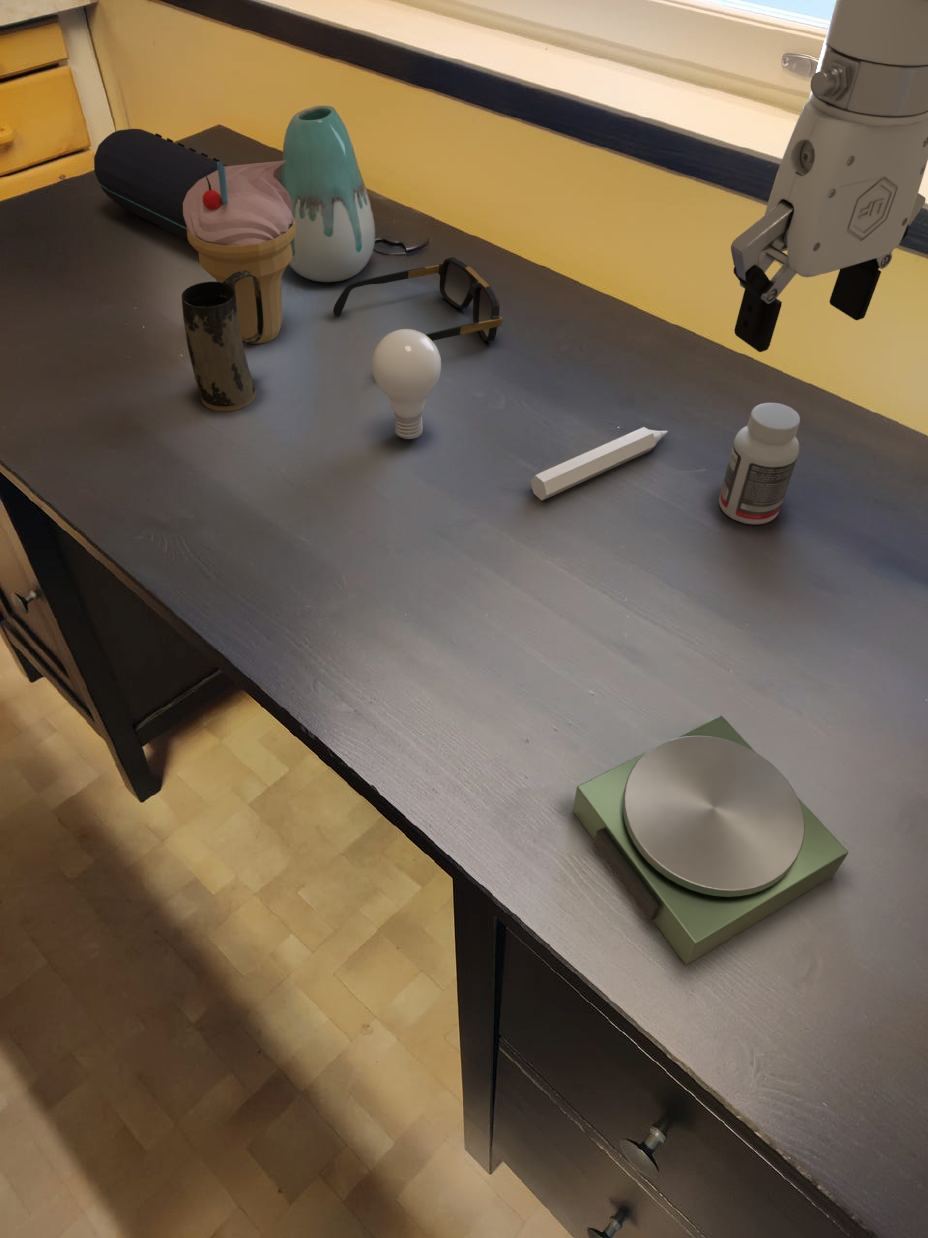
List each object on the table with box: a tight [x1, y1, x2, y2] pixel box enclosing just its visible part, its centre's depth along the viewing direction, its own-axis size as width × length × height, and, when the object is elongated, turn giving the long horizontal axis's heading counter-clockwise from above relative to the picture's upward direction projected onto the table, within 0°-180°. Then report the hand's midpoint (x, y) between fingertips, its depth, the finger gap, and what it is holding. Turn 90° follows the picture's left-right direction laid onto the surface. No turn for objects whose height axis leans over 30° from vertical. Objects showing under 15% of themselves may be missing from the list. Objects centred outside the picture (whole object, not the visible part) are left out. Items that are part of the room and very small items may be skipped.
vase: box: [279, 105, 376, 283], centre depth 107 cm, size 12×12×18 cm
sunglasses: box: [332, 256, 504, 342], centre depth 102 cm, size 14×15×5 cm
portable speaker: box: [93, 128, 228, 241], centre depth 117 cm, size 25×10×10 cm, turn 49°
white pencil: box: [530, 426, 669, 501], centre depth 87 cm, size 3×2×16 cm
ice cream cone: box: [183, 160, 296, 345], centre depth 96 cm, size 11×11×20 cm
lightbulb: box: [371, 328, 442, 440], centre depth 86 cm, size 6×6×11 cm
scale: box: [572, 714, 849, 966], centre depth 59 cm, size 12×12×3 cm
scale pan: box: [623, 736, 805, 897], centre depth 58 cm, size 11×11×1 cm
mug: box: [181, 270, 264, 412], centre depth 91 cm, size 8×6×12 cm
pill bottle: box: [718, 402, 801, 525], centre depth 80 cm, size 5×5×10 cm
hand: (799, 326), depth 71 cm, fingers open, 9 cm apart
